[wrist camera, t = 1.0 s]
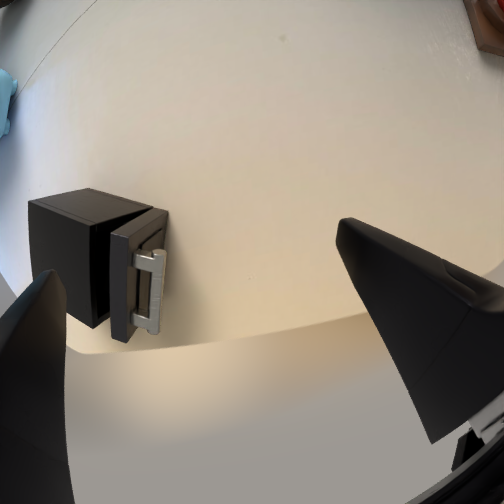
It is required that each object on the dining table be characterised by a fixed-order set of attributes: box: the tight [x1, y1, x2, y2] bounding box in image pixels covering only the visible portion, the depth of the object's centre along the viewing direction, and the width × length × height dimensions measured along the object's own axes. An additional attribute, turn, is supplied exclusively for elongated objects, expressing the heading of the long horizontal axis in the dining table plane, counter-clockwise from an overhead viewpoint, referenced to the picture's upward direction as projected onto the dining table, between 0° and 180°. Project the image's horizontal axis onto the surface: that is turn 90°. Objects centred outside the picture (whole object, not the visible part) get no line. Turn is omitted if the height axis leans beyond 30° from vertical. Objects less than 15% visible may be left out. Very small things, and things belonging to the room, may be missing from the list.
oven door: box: [110, 208, 168, 343], centre depth 26 cm, size 4×10×9 cm, turn 167°
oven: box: [28, 188, 153, 329], centre depth 27 cm, size 10×10×9 cm
